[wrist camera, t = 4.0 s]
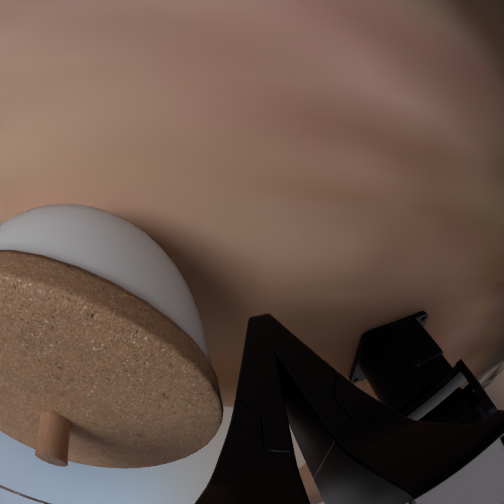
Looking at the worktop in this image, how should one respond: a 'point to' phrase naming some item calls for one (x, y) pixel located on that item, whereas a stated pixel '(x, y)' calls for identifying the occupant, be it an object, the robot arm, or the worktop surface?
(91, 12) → the worktop surface
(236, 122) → the worktop surface
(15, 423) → the lidded jar
